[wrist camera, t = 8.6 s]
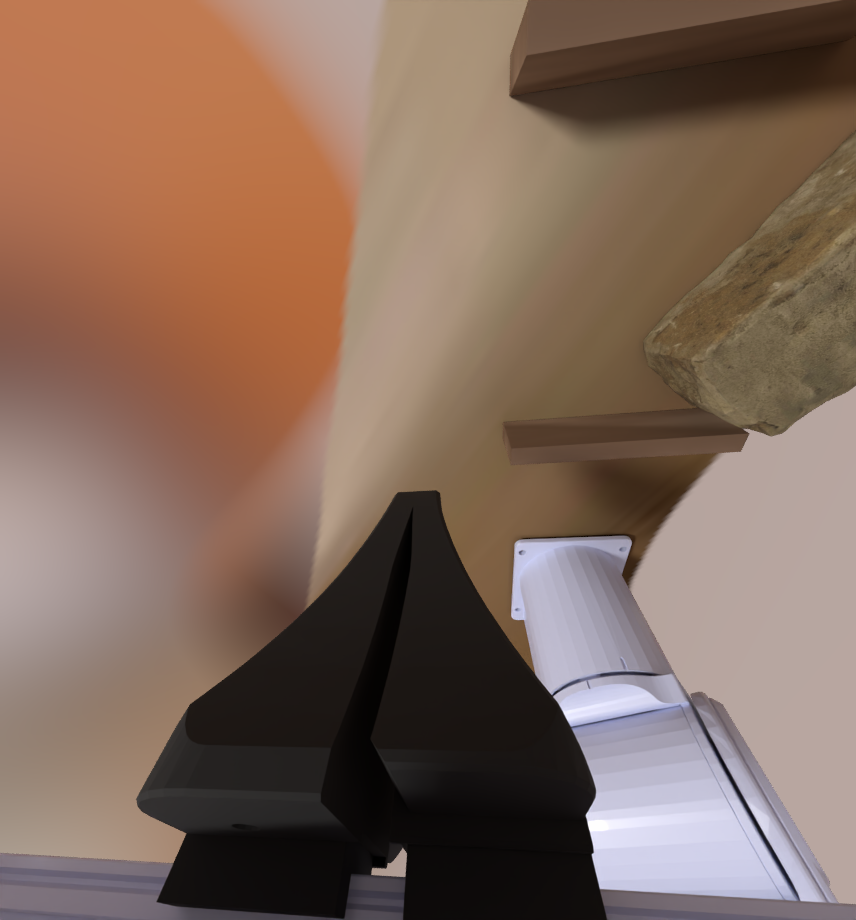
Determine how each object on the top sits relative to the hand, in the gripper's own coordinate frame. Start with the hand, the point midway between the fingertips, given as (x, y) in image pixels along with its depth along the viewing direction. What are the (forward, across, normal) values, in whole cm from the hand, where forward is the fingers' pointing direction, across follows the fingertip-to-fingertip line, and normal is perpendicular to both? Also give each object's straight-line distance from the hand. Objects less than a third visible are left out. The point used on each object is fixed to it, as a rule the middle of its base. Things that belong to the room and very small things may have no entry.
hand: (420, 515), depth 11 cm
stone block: (+10, -16, -4) cm, 19 cm away
